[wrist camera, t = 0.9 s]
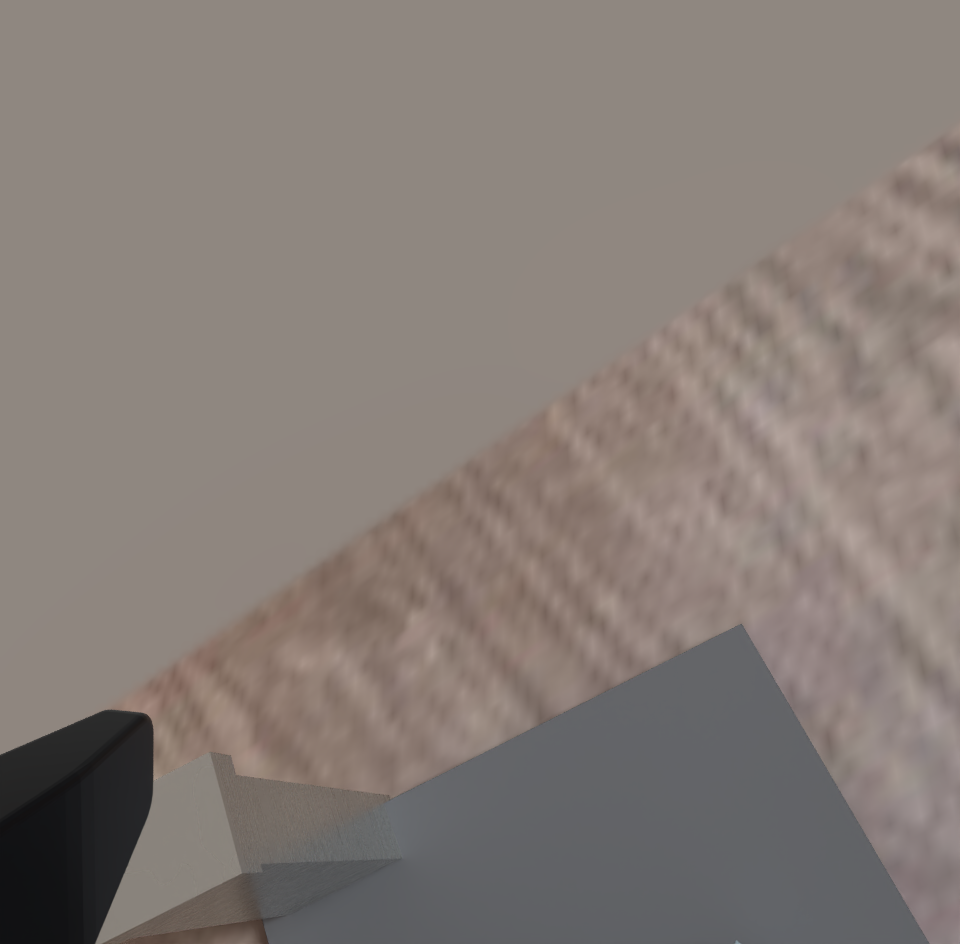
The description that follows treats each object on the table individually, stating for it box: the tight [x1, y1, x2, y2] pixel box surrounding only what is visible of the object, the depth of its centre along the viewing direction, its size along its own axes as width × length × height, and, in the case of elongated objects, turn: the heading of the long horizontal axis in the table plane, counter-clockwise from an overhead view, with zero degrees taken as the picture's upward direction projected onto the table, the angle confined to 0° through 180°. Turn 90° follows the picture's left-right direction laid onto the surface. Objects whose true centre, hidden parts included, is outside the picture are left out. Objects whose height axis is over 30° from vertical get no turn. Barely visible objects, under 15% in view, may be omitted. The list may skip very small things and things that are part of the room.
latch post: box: [95, 752, 403, 944], centre depth 17 cm, size 2×3×8 cm, turn 114°
